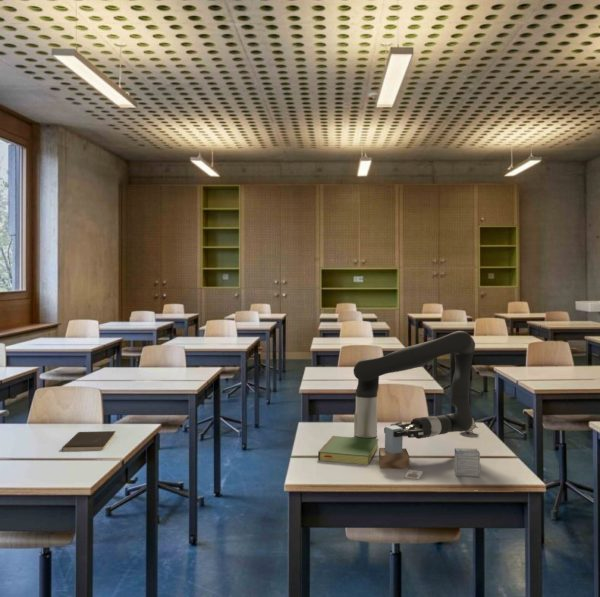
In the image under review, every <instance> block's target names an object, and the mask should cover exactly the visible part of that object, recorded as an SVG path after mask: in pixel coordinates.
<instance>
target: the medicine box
mask: <svg viewBox="0 0 600 597" xmlns="http://www.w3.org/2000/svg"><path fill="white" fill-rule="evenodd" d="M480 458H481V452H480V451H479V449H477V448H466V447H465V448H462V447H461V448H459V447H455V448H454V469H453V470H454V473H455V476H456V477H480V471H481V470H480V469H481V468H480V465H481V464H480V463H481V462H480V461H481V460H480Z"/></svg>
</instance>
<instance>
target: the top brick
mask: <svg viewBox="0 0 600 597" xmlns="http://www.w3.org/2000/svg"><path fill="white" fill-rule="evenodd" d="M384 428H385V433H384V448H385V451H386V452H388V453H390V454H397V453H402V448H403V442H404V441H403V439H404V438H403V436H401V437H394V431H397V430H403V428H401V427H399V426H396V425H393V426H391V425H388V426H387V425H386V426H385V427H384Z"/></svg>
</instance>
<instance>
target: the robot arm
mask: <svg viewBox="0 0 600 597" xmlns="http://www.w3.org/2000/svg"><path fill="white" fill-rule="evenodd" d="M475 349H476V342H475V340H474V338H473V337H472V336H471V334H470V333H468V332H467V331H464V330H457V331H454V332H451V333H449V334H446V335H444V336H441V337H438V338H436V339H431V340H429V341H425V342H421V343H416V344H413V345H409V346H406V347H402V348H399V349H397V350H395V351H393V352H390V353H388V354H386V355H383V356H380V357H376V358H370V357H369V358H368V357H367V358H364V359H360V360H359V361H358V362H357V363H356V364H355V365H354V367H353V375H354V377H355V378H356V379H357V380H358V381H357V386H356V389H355V412H354V418H353V420H354V422H353V424H354V425H353V426H354V427H353V428H354V429H353V433H354V434H353V436H354V437H357V438H368V439H374V438H376V437H377V436H378V392H379V387H380V384H379V383H380V381H379V380H380V376H383V375H384V376H385V375H387V374H392V373H398V372H403V371H407V370H412V369H415V368H420V367H422V366H423V367H424V366H425V365H427V364H429V363H430V362H432V361H434V360H436V359H437V358H440V357H442V356H445V355H446V356H447V355H451V354H454V360H455V361H454V362H455V369H454V373H453V378H452V382H451V389H450V405H451V406H452V407H454V408H456V411H457V413H456V412H455V413H447V414H444V415H443V414H442V415H435V416H432V415H431V416H423V417H415V418H412V420H411V421H410V422H405V423H402V422H401V421H399V422H396V423H395V422H394V423H391V424H390V426H393V425H396V426H399V427H401V428H403V430H397V431H394V437H401V436H403V437H404V438H405V437H407V438H408V439H410V438H411V439H412V438H416V439H419V440H420V439H424V438H432V437H436V436H439V435H445V434H448V433H455V432H460V431H461V432H465V431H468V430H469V429H470V428H471V426H472V422H473V420H472V417H473V416H472V410H471V406H470V392H471V391H470V388H471V386H470V385H471V383H470V381H471V370H472V364H473V363H472V362H473V358H474V352H475ZM383 433H384V434H385V427H384V429H383Z"/></svg>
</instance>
